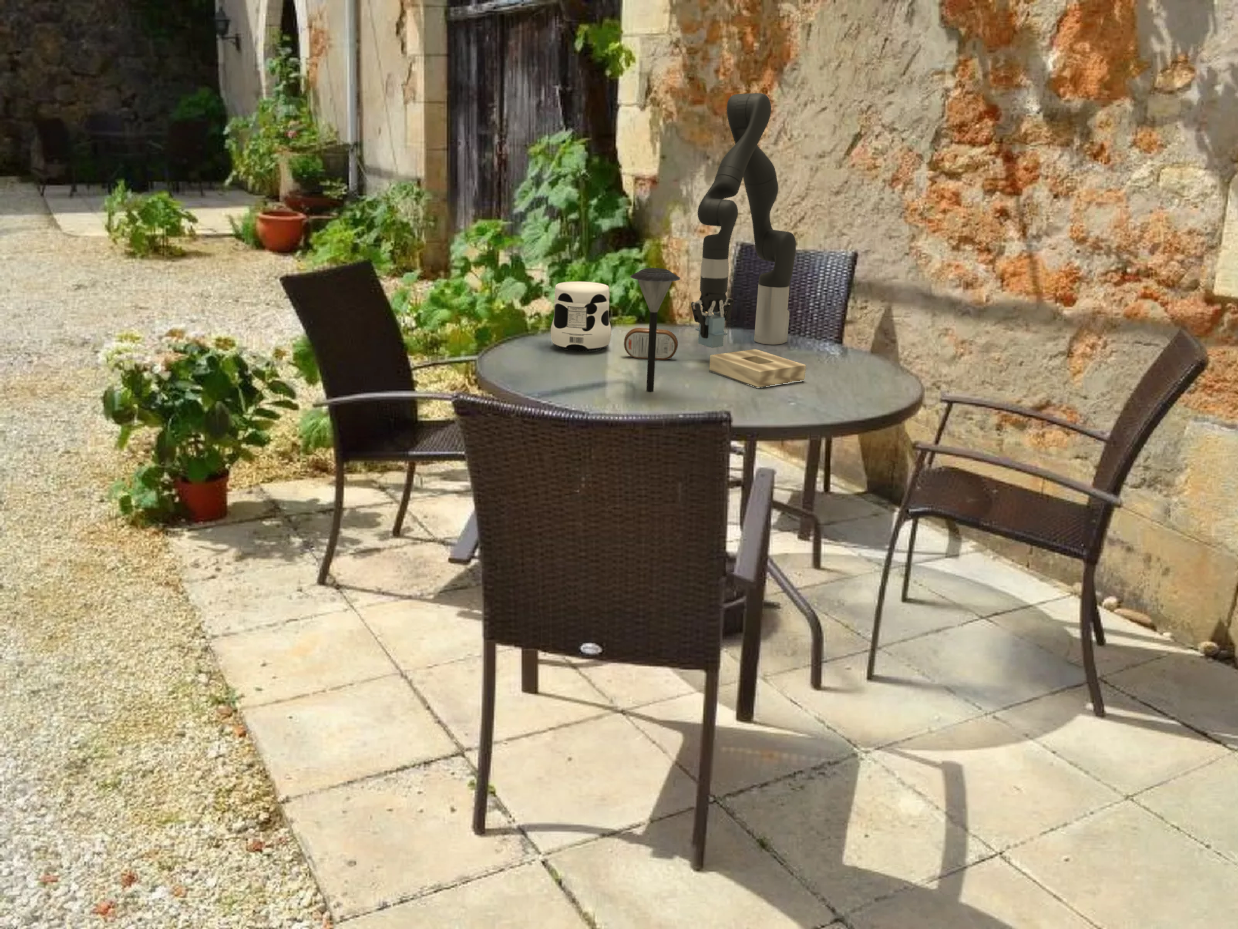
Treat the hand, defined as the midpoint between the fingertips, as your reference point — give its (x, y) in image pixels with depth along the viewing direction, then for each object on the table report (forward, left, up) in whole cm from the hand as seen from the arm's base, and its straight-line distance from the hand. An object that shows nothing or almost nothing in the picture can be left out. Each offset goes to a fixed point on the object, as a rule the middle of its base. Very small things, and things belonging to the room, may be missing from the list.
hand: (711, 336), depth 296 cm
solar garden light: (+32, +17, -8) cm, 37 cm away
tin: (+12, -11, -8) cm, 18 cm away
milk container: (+23, -30, -8) cm, 39 cm away
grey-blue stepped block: (0, 0, -2) cm, 2 cm away
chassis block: (-2, +18, -7) cm, 19 cm away
